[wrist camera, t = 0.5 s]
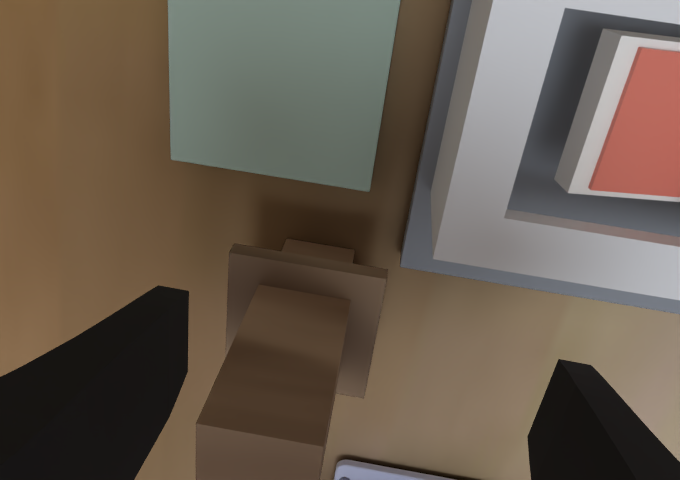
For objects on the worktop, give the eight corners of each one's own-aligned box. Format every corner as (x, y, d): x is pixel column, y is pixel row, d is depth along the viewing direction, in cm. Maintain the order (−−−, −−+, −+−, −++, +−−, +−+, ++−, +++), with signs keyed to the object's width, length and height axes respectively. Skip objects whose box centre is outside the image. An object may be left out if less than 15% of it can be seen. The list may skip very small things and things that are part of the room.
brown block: (371, 335, 24) (344, 560, 15) (250, 314, 24) (158, 524, 16) (392, 227, 21) (373, 423, 13) (257, 204, 22) (153, 383, 13)
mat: (370, 185, 21) (369, 192, 20) (176, 153, 21) (170, 159, 20) (405, -33, 17) (405, -32, 17) (174, -66, 18) (166, -66, 17)
